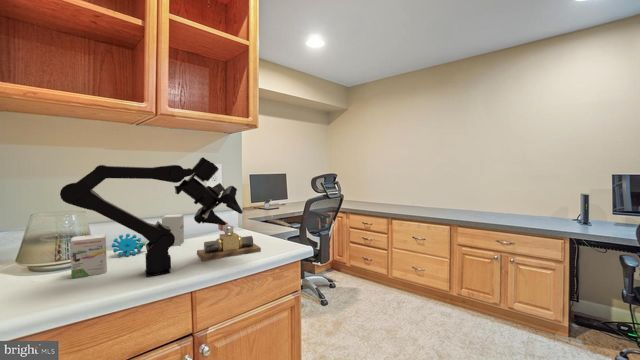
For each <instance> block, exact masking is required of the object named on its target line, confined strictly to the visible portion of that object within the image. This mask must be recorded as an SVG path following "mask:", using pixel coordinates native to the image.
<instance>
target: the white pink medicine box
mask: <svg viewBox="0 0 640 360" xmlns="http://www.w3.org/2000/svg"><path fill="white" fill-rule="evenodd" d="M107 256H108V255H107V235H106V233H101V234H99V233H98V234H90V235H89V234H88V235H79V236H73V237H71V239H70V266H71V268H70V269H71V279H78V278H79V279H80V278H85V277H89V276H91V277H92V276H97V275H102V274H106V273H107V270H108V262H107V260H108V258H107Z"/></svg>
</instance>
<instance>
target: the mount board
mask: <svg viewBox="0 0 640 360" xmlns="http://www.w3.org/2000/svg"><path fill="white" fill-rule="evenodd" d="M261 249H262V248H261V247H260V245H259V246H258V245H257V244H255V243H254V242H253V246H247V247H242V248H240V249H239V250H233V251H226V252H223V251H220V252H218V251H214V252H207V253H205V251H204V248H203V249H197V250H196V255H197V256H198V258H199V259H200V261H201V262H203V261H212V260H217V259H222V258H229V257H235V256H241V255H248V254H253V253H259V252H261V251H262V250H261Z"/></svg>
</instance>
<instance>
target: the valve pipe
mask: <svg viewBox="0 0 640 360" xmlns="http://www.w3.org/2000/svg"><path fill="white" fill-rule="evenodd" d="M253 243H254V238H253V236H252V235H247V236H241V235H239V234H238V233H236V232H233V234H231V235H225V233H220V234H219V238H217V239H216V240H209V241H204V242H203V249H204V251H205V253H207V252H214V251H218V252H220V251H223V252H226V251H233V250H239V249H240V248H242V247H247V246H253Z"/></svg>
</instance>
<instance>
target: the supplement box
mask: <svg viewBox="0 0 640 360" xmlns="http://www.w3.org/2000/svg"><path fill="white" fill-rule="evenodd" d="M184 217H185V216H184V213H183V214H181V213H177V214H166V215H164V216H162V217H161V224H162V225H164V226H168V227H169V228H170V229H171V232H172V233H173V235H174V237H175V242H174V244H173V245H172V246H171V247H175V246H177V247H179V246H181V245H182V243H184V242H185V230H184V229H185V228H184V227H185V225H184V224H185V221H184V219H185V218H184Z"/></svg>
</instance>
